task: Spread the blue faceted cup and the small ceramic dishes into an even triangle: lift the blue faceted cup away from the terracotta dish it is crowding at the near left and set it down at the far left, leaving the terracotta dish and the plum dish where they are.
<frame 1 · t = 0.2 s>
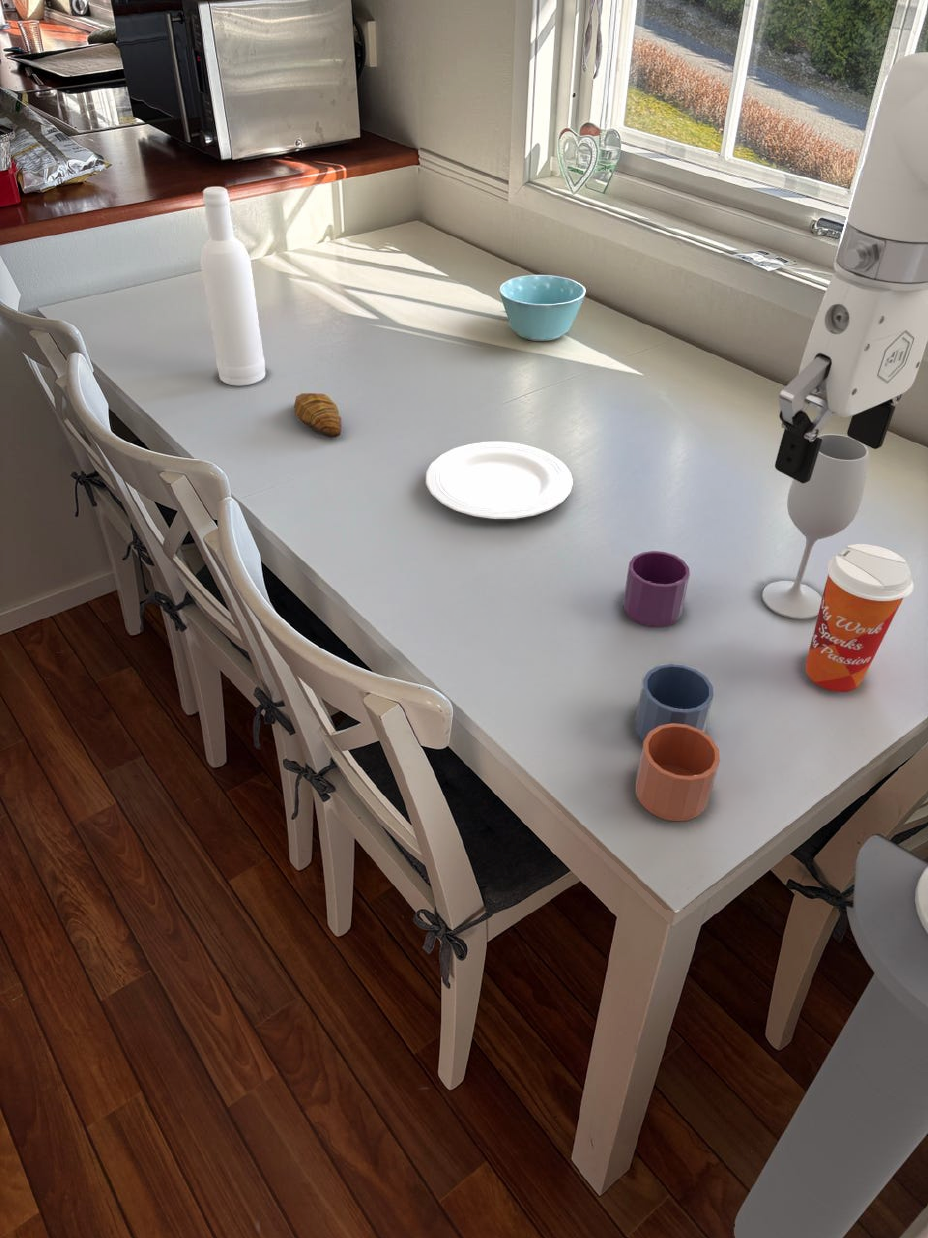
hand: (828, 458, 78), 30 cm above the table, tool pointing down, fingers open, 9 cm apart
plate: (498, 489, 131), on the table
wineglass: (792, 601, 112), on the table
coffee cup: (833, 675, 102), on the table
croissant: (317, 423, 145), on the table
plum dish: (651, 608, 111), on the table
bottle: (242, 377, 158), on the table
terracotta dish: (671, 792, 89), on the table
bowl: (539, 333, 174), on the table
blue faceted cup: (668, 729, 95), on the table
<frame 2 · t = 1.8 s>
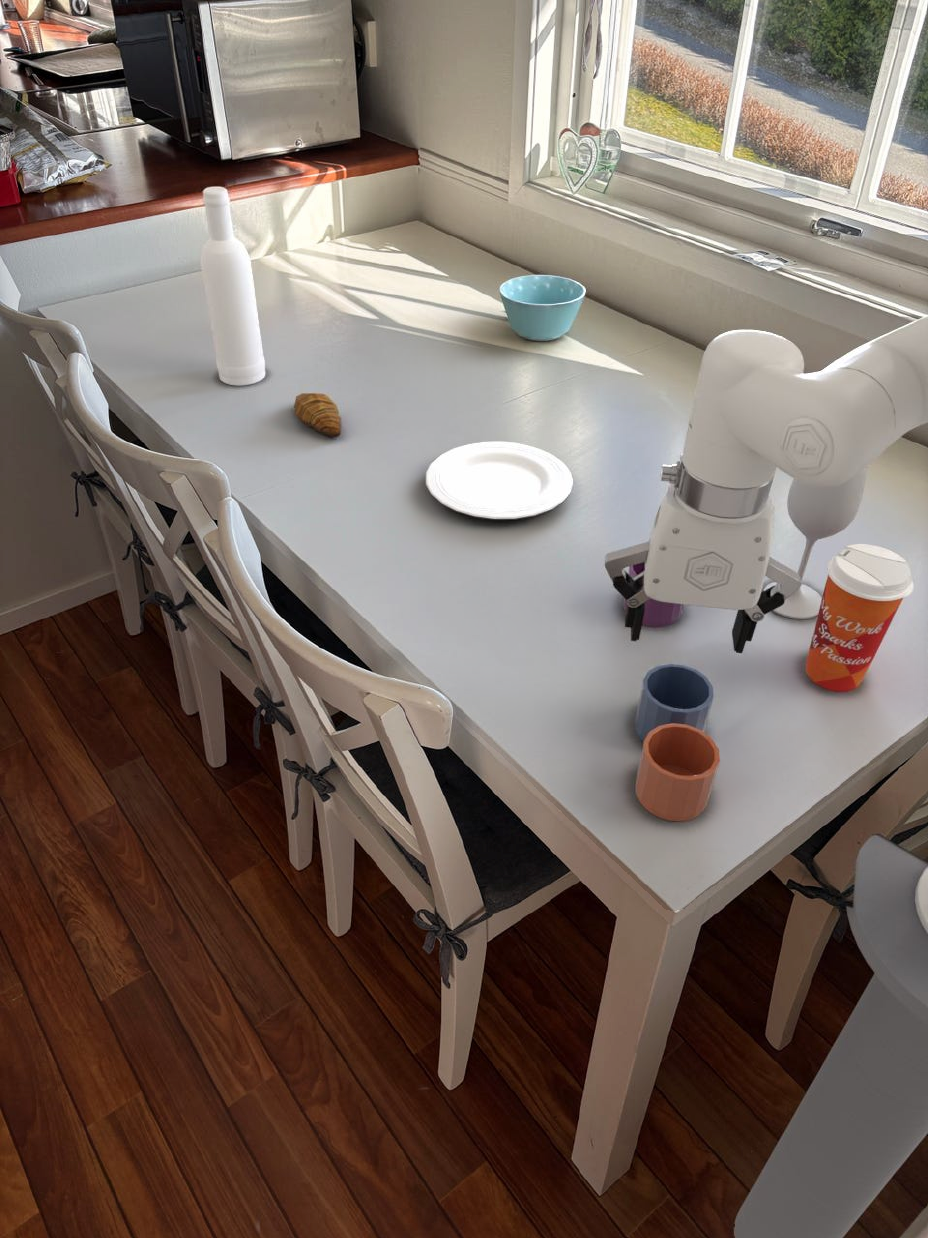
hand: (685, 637, 88), 12 cm above the table, tool pointing down, fingers open, 9 cm apart
nothing on the table moved.
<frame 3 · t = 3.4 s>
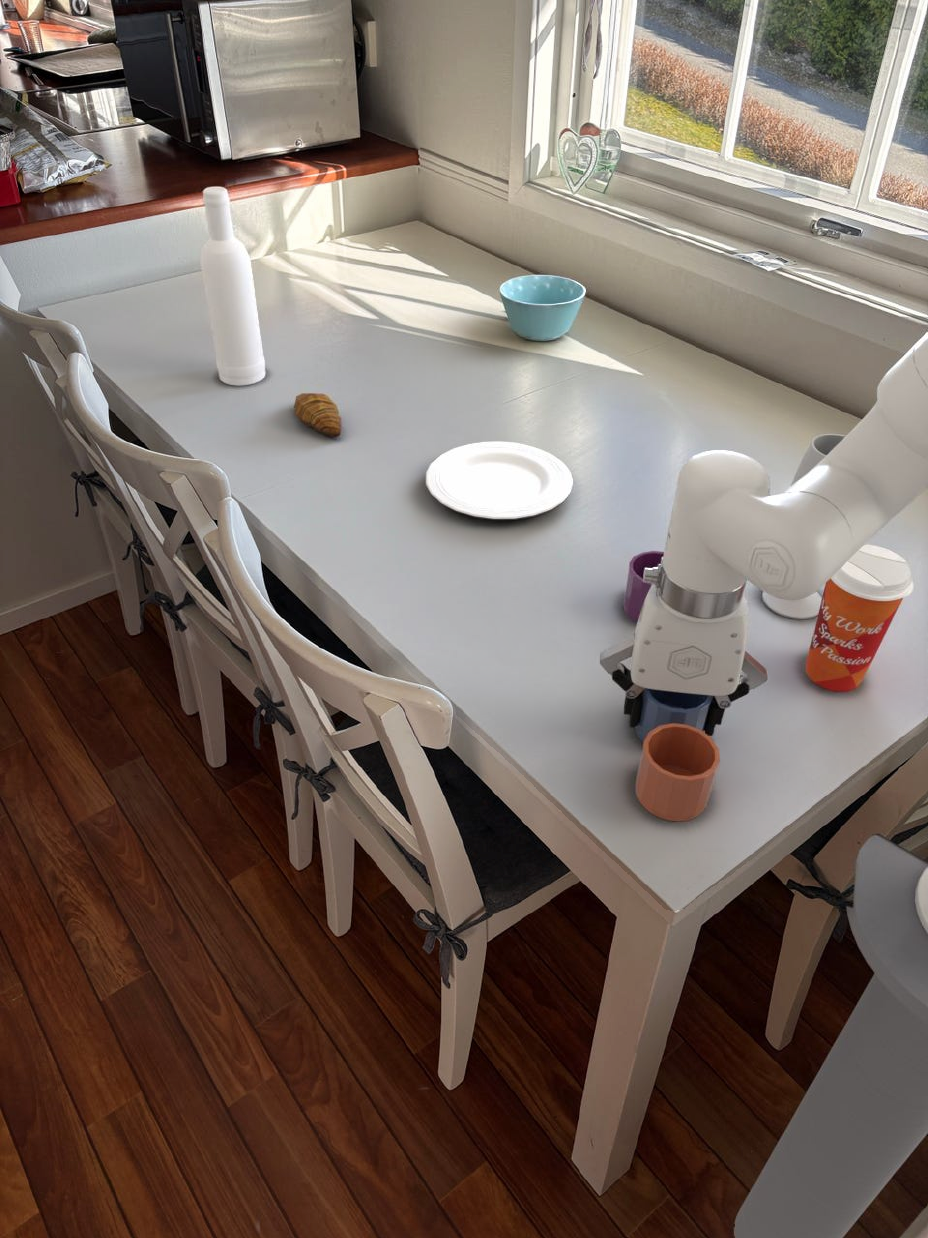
hand: (670, 721, 95), 1 cm above the table, tool pointing down, fingers closed on blue faceted cup, 7 cm apart
blue faceted cup: (668, 729, 95), on the table, touching gripper
everything else where it was.
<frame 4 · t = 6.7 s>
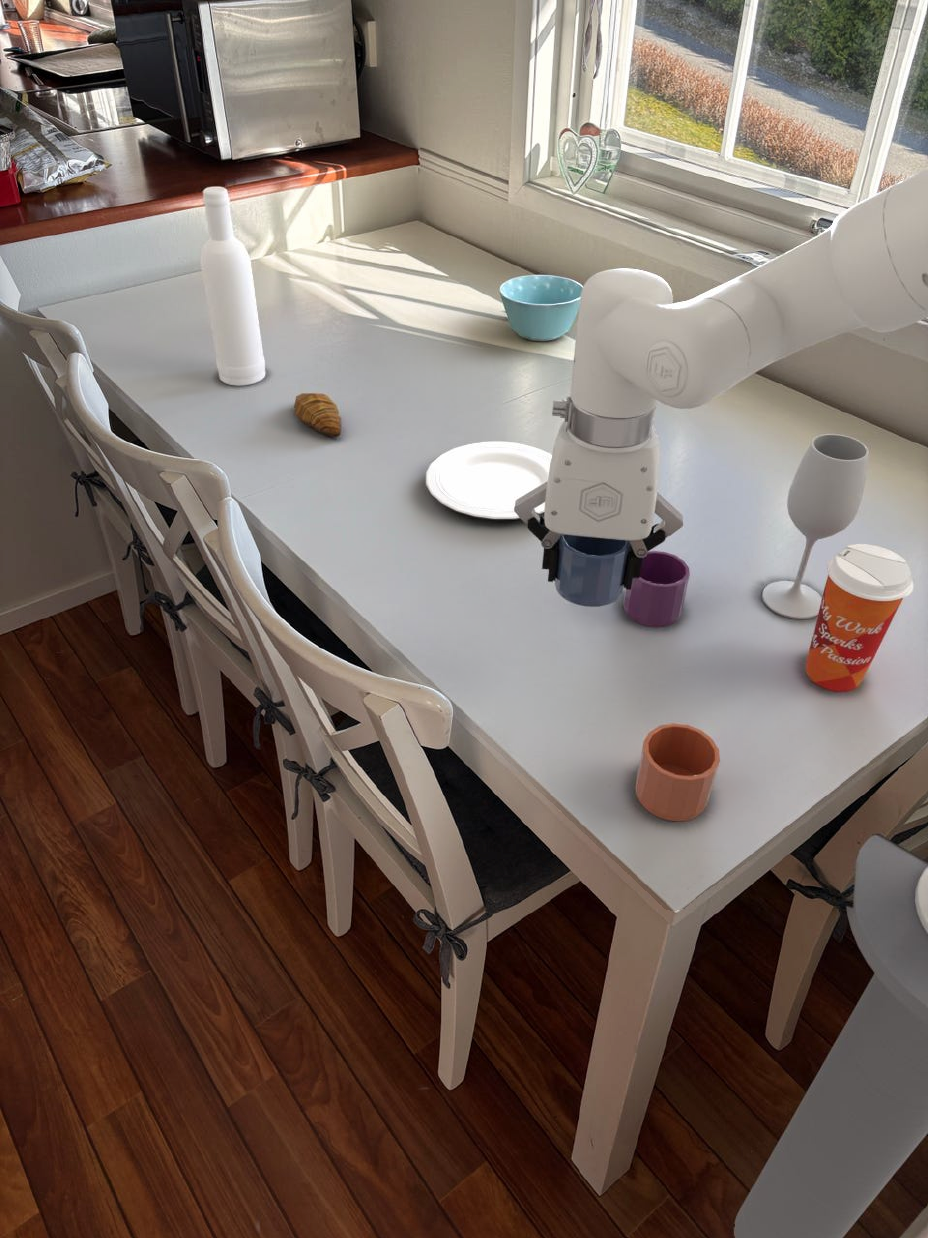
hand: (589, 576, 93), 13 cm above the table, tool pointing down, fingers closed on blue faceted cup, 7 cm apart
blue faceted cup: (588, 585, 94), point 12 cm above the table, touching gripper
everything else where it was.
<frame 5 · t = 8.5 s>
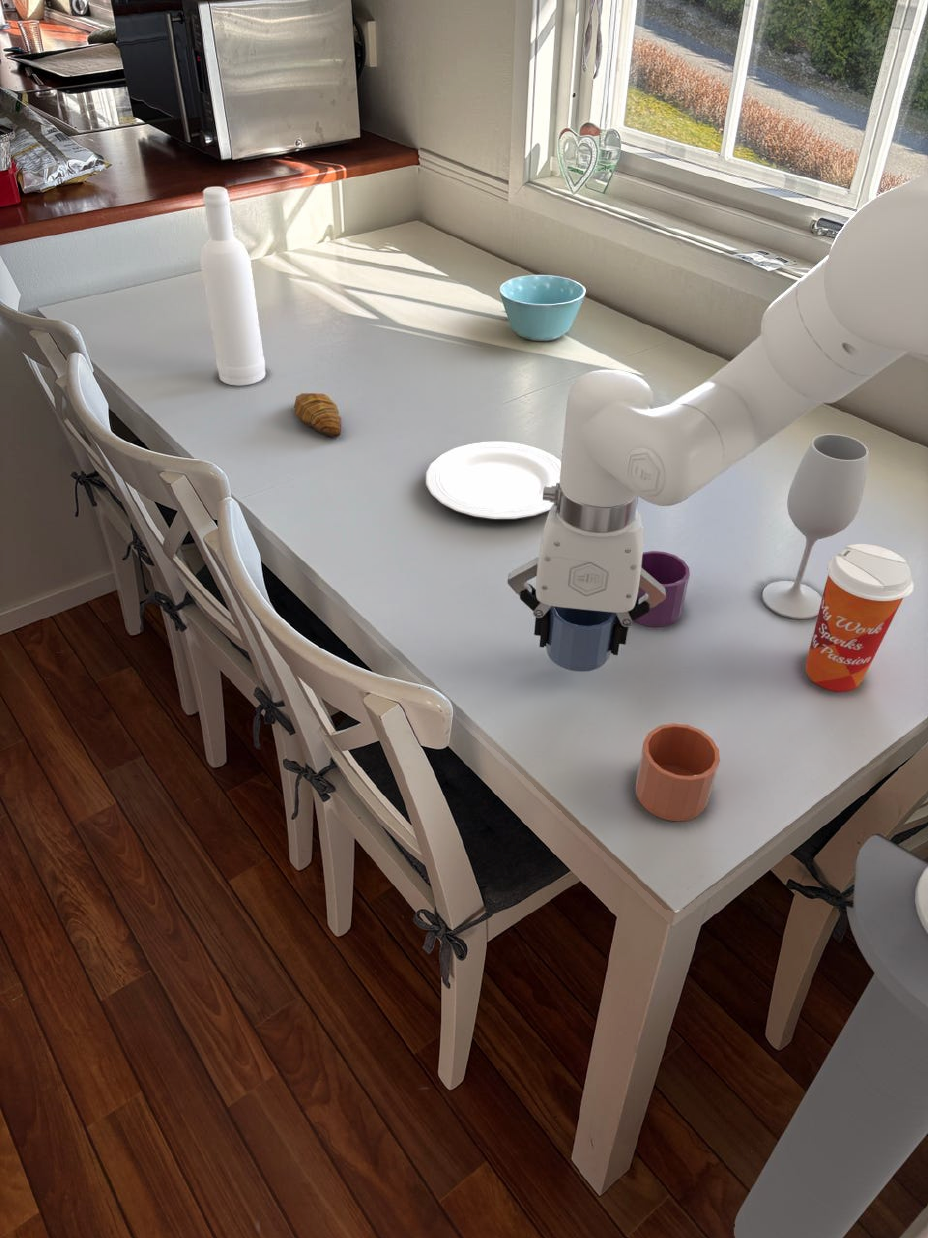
hand: (578, 641, 99), 4 cm above the table, tool pointing down, fingers closed on blue faceted cup, 7 cm apart
blue faceted cup: (577, 650, 100), point 3 cm above the table, touching gripper
everything else where it was.
when the fingers open (1 cm above the table, at t = 9.9 s): blue faceted cup stays where it is, on the table.
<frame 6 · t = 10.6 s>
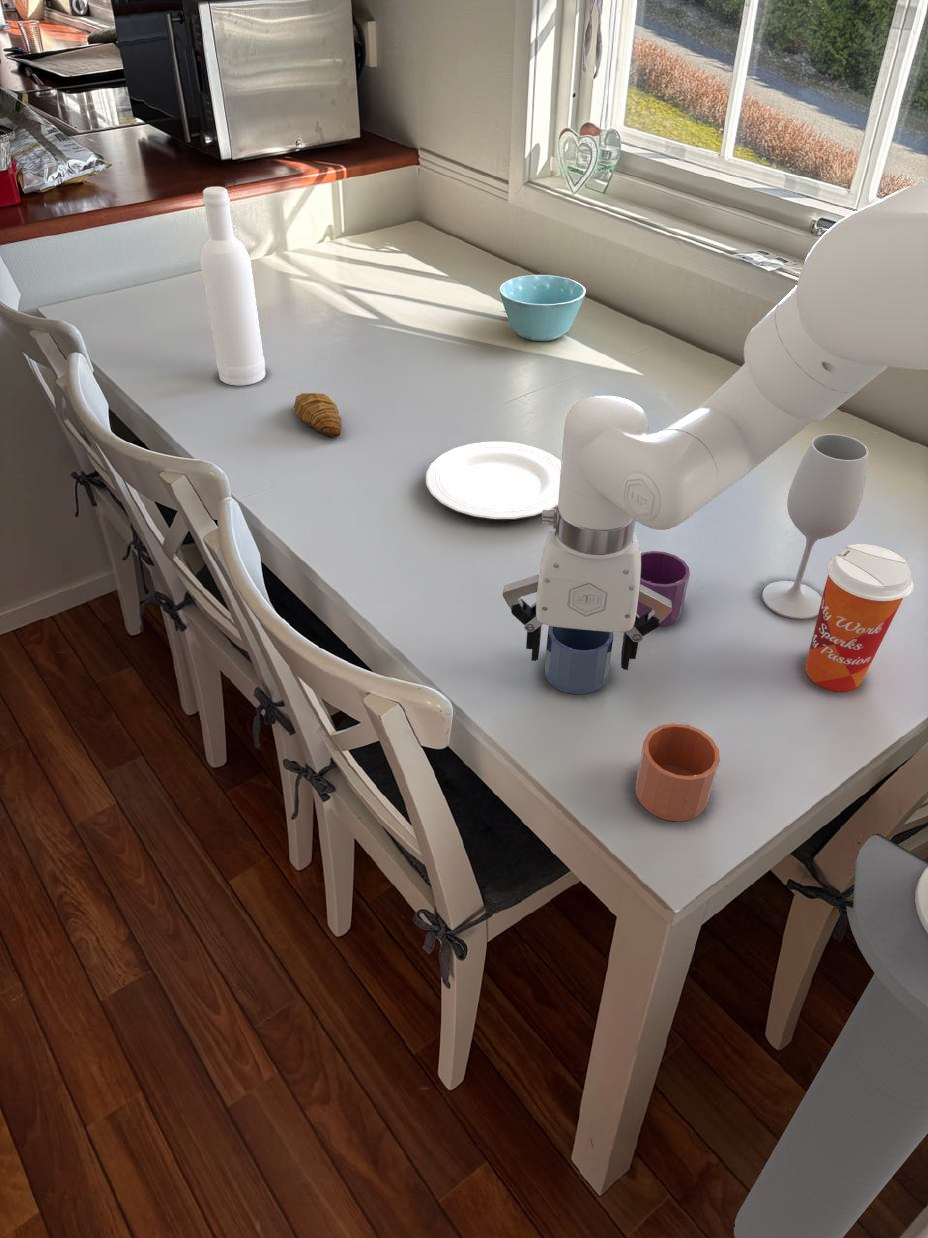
hand: (579, 656, 100), 3 cm above the table, tool pointing down, fingers open, 9 cm apart
blue faceted cup: (575, 672, 102), on the table
everything else where it was.
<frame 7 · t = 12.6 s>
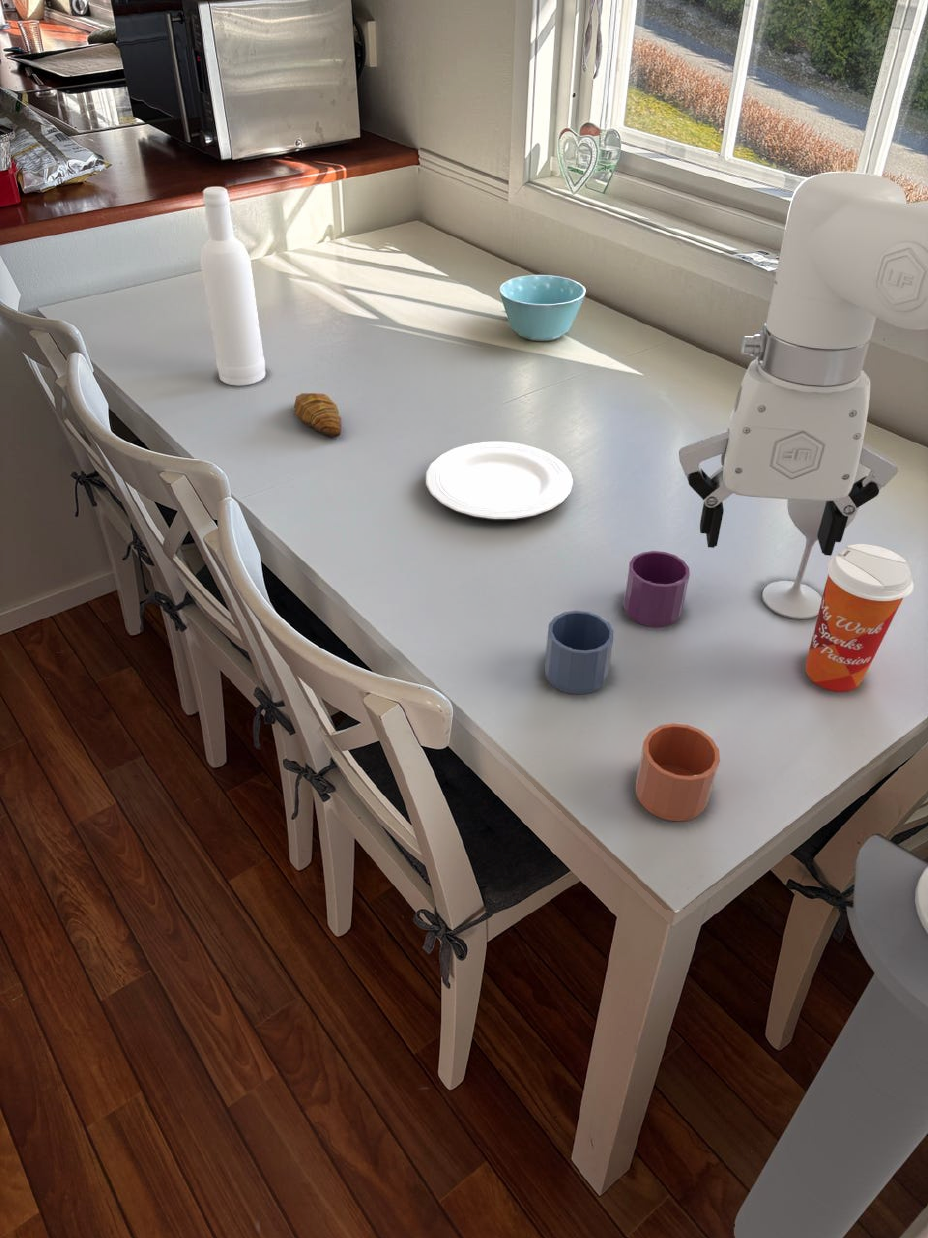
hand: (766, 542, 80), 23 cm above the table, tool pointing down, fingers open, 9 cm apart
nothing on the table moved.
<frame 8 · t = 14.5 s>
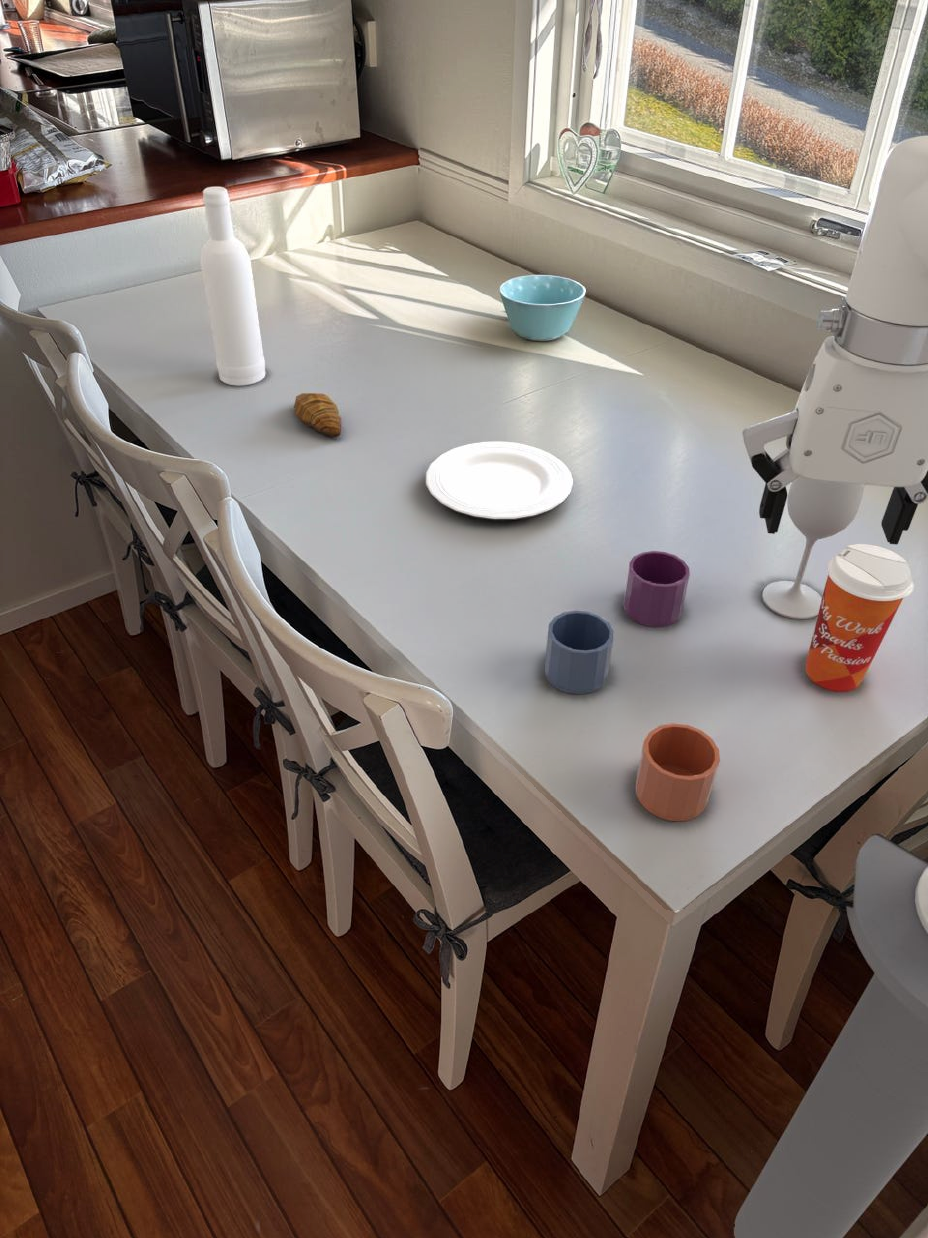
hand: (829, 529, 77), 26 cm above the table, tool pointing down, fingers open, 9 cm apart
nothing on the table moved.
at the end: blue faceted cup 0.1 cm from the target spot, on the table; terracotta dish moved 0.0 cm from its start; plum dish moved 0.0 cm from its start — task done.
